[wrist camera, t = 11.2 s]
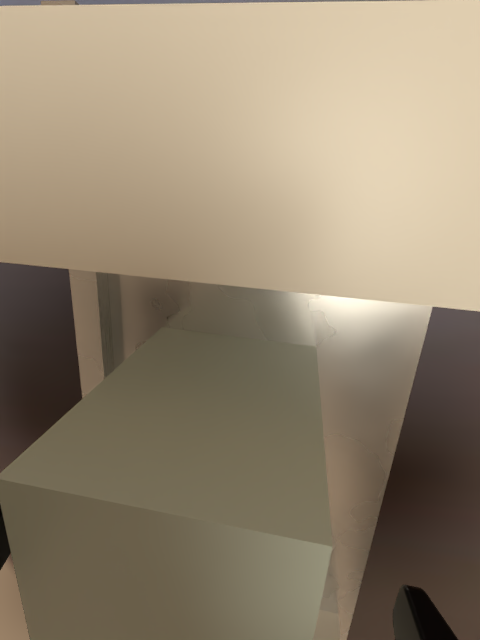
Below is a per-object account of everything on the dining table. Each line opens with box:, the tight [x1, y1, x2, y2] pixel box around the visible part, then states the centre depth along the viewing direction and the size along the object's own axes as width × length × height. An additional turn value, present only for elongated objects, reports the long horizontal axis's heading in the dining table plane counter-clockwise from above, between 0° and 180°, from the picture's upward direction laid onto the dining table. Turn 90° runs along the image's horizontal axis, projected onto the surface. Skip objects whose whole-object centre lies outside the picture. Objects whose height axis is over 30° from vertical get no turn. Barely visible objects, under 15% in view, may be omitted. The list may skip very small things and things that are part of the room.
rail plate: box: [41, 1, 433, 640], centre depth 12 cm, size 23×10×2 cm, turn 176°
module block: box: [0, 327, 333, 640], centre depth 9 cm, size 4×8×6 cm, turn 176°
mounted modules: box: [0, 0, 480, 640], centre depth 10 cm, size 20×9×4 cm, turn 176°
